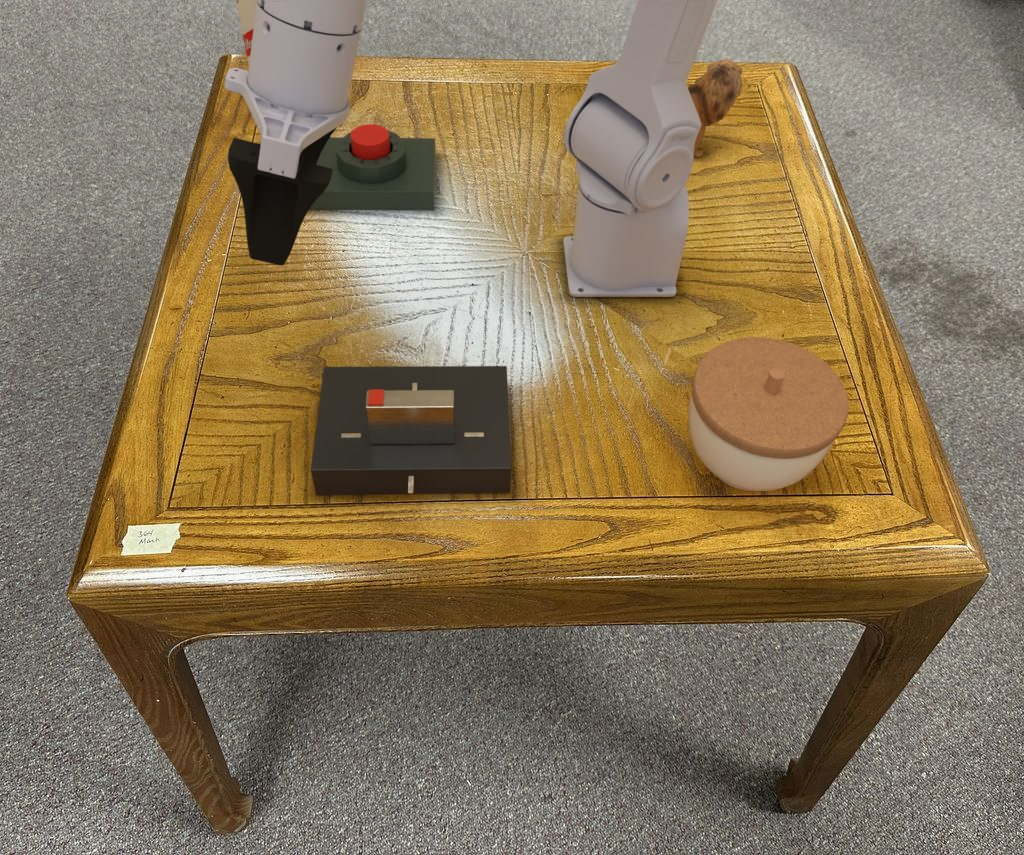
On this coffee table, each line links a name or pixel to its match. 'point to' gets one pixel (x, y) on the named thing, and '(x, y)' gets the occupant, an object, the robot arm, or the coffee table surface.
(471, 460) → the rotary switch base
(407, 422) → the tap handle
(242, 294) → the coffee table surface
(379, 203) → the button box
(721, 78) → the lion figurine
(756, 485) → the trinket box
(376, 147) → the button
